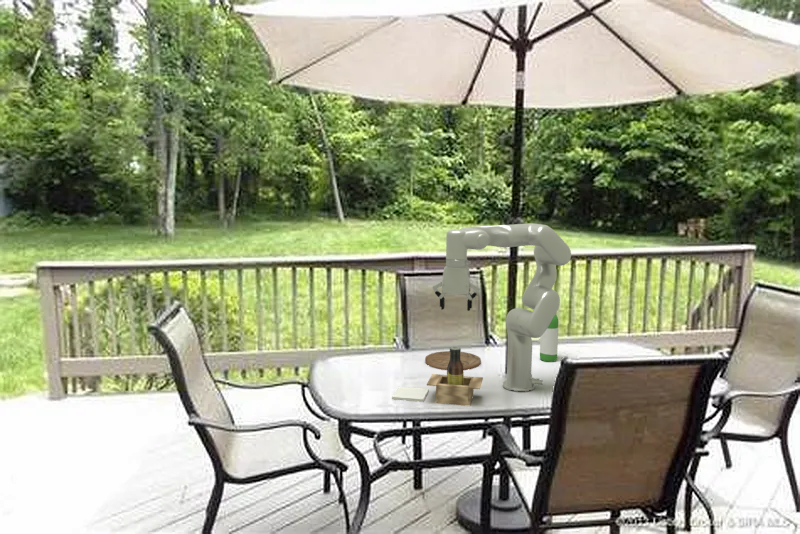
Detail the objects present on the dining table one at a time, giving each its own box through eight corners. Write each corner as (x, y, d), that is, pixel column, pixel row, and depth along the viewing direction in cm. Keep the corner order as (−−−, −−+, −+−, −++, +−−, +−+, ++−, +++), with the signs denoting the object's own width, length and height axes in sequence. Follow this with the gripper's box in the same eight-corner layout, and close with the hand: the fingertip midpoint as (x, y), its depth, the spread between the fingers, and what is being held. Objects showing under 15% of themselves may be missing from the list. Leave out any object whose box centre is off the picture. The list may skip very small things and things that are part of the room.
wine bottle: (540, 356, 298) (542, 293, 293) (557, 358, 295) (560, 294, 291) (538, 361, 290) (540, 296, 286) (556, 363, 288) (558, 297, 284)
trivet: (437, 352, 306) (437, 348, 305) (488, 359, 295) (488, 355, 294) (415, 366, 283) (416, 362, 283) (469, 374, 272) (469, 370, 272)
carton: (482, 395, 246) (482, 377, 245) (479, 406, 234) (480, 388, 233) (432, 391, 250) (432, 373, 249) (426, 402, 238) (426, 384, 237)
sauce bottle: (453, 394, 246) (453, 344, 244) (466, 398, 243) (467, 347, 240) (443, 399, 241) (443, 347, 239) (456, 403, 238) (457, 350, 235)
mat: (428, 391, 250) (428, 388, 250) (423, 401, 239) (423, 399, 238) (398, 389, 253) (398, 386, 252) (391, 399, 241) (391, 396, 241)
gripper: (481, 263, 237) (480, 308, 239) (434, 261, 240) (434, 306, 243) (479, 265, 229) (478, 312, 232) (431, 264, 233) (430, 310, 236)
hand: (455, 309), depth 237 cm, fingers open, 9 cm apart
